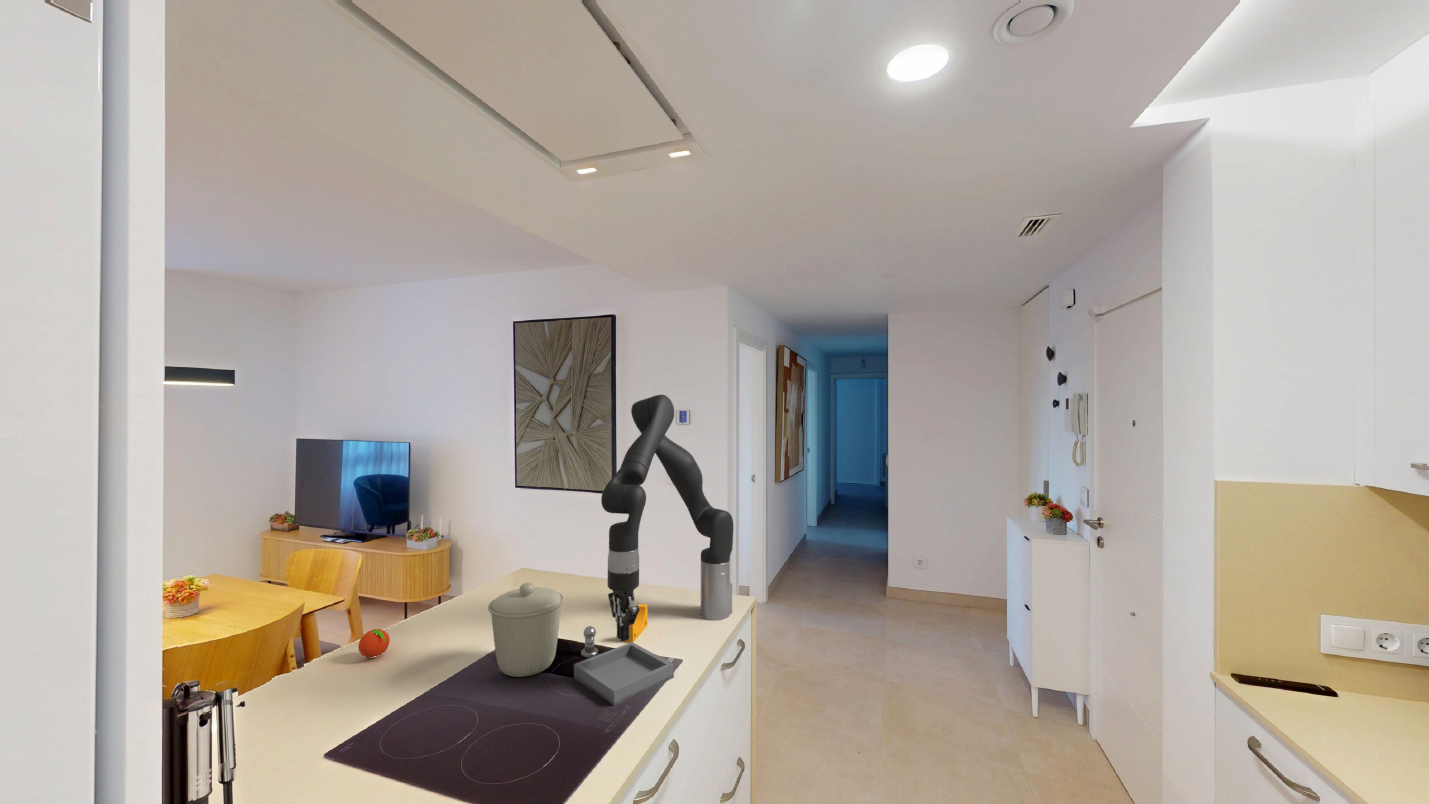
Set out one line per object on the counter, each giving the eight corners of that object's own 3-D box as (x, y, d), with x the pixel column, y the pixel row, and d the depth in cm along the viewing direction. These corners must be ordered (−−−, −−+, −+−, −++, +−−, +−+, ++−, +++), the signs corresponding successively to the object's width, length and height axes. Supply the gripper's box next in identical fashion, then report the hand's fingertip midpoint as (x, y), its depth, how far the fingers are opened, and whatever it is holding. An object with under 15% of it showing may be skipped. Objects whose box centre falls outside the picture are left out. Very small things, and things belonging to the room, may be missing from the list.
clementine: (398, 654, 140) (398, 627, 140) (371, 666, 134) (371, 637, 134) (378, 648, 144) (379, 622, 144) (352, 659, 137) (352, 632, 137)
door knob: (592, 648, 144) (592, 621, 144) (601, 653, 140) (601, 626, 140) (577, 653, 140) (578, 626, 140) (586, 659, 137) (586, 631, 137)
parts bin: (631, 655, 140) (631, 641, 140) (673, 678, 128) (673, 664, 128) (574, 678, 128) (574, 664, 128) (614, 707, 116) (614, 691, 116)
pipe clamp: (633, 624, 159) (633, 603, 159) (647, 626, 158) (647, 604, 158) (618, 642, 148) (618, 619, 148) (632, 643, 147) (632, 620, 147)
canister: (578, 656, 139) (578, 576, 139) (533, 691, 122) (533, 600, 122) (521, 646, 145) (521, 569, 145) (471, 678, 128) (471, 591, 128)
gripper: (598, 562, 131) (597, 633, 131) (620, 577, 120) (620, 654, 120) (625, 558, 136) (625, 626, 135) (650, 571, 124) (649, 645, 124)
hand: (622, 639), depth 128 cm, fingers closed
